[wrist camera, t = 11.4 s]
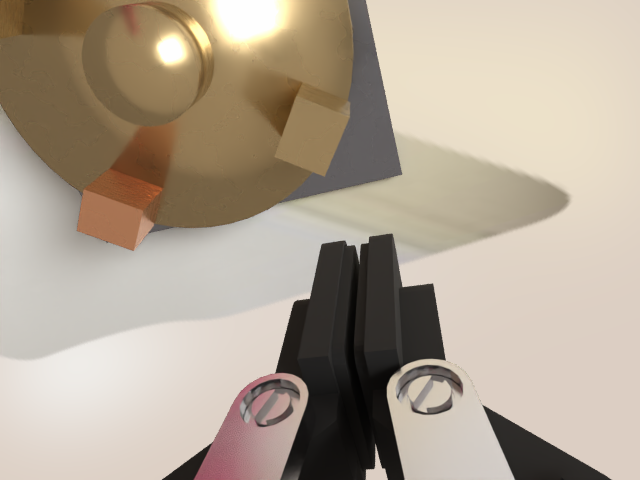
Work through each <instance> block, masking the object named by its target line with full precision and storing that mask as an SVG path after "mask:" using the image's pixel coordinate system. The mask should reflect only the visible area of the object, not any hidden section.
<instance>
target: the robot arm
mask: <svg viewBox="0 0 640 480" xmlns="http://www.w3.org/2000/svg"><path fill="white" fill-rule="evenodd" d="M375 443H376V447H377V451H378V455H379V459H380V463H381V466H382V468H385V470H386V474H387V478H388V480H611V479H609V478H608V477H607V476H605V475H604V474H602V473H600V472H598V471H597V470H595V469H593V468H591V467H590V466H588V465H586V464H585V463H583V462H581V461H579V460H578V459H576V458H574V457H572V456H571V455H569V454H567V453H565V452H563V451H562V450H560V449H558V448H557V447H555V446H553V445H551V444H550V443H548V442H546V441H544V440H543V439H541V438H539V437H537V436H536V435H534V434H532V433H531V432H529V431H527V430H525V429H523V428H522V427H520V426H518V425H517V424H515V423H513V422H511V421H510V420H508V419H506V418H504V417H503V416H501V415H499V414H497V413H496V412H493V411H492V410H490V409H489V408H487V407H485V406H483V405H482V404H481V401H480V399H479V397H478V395H477V392H476V390H475V388H474V385H473V383H472V381H471V379H470V378H469V376H468V375H467V373H466V372H465V371H464V370H462V369H461V368H460V367H459V366H457V365H456V364H453V363H450V362H448V361H446V359H445V354H444V347H443V341H442V335H441V329H440V323H439V317H438V311H437V305H436V298H435V293H434V286H433V284H426V285H417V286H409V287H402V282H401V277H400V271H399V265H398V260H397V254H396V249H395V243H394V238H393V234H386V235H379V236H372V237H369V243H366V244H361V251H360V265H359V260H358V256H357V251H356V248H355V245H352V246H347V244H346V242H345V241H338V242H331V243H325V244H322V245H321V249H320V254H319V259H318V264H317V268H316V273H315V278H314V282H313V287H312V292H311V296H310V299H306V300H297V301H295V302H294V304H293V308H292V311H291V315H290V319H289V323H288V326H287V331H286V334H285V338H284V342H283V346H282V350H281V353H280V357H279V361H278V365H277V369H276V373H275V374H270V375H267V376H264V377H261V378H259V379H257V380H255V381H253V382H252V383H250V384H249V385H247V386H246V387H245V388H244V389H243V390H242V391H241V392H240V393H239V395H238V396H237V397H236V399H235V400H234V402H233V404H232V406H231V408H230V410H229V412H228V414H227V416H226V418H225V420H224V422H223V424H222V426H221V428H220V430H219V432H218V434H217V435H216V437H215V439H214V441H213V442H212V443H211V444H210V445H209V446H207V447H206V448H204V449H203V450H202V451H200V452H199V453H198V454H196V455H195V456H194V457H192V458H191V459H189V460H188V461H187V462H185V463H184V464H183V465H181V466H180V467H179V468H177V469H176V470H174V471H173V472H172V473H171V474H169V475H168V476H166V477H165V478H164V479H162V480H365V479H366V469H374V468H375Z"/></svg>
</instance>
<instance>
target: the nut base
mask: <svg viewBox="0 0 640 480" xmlns="http://www.w3.org/2000/svg"><path fill="white" fill-rule="evenodd" d="M348 5H349V11H350V16H351V22H352V34H353V67H352V81H351V87H350V92H349V97H348V101H349V102H350V118H349V120H348V123H347V125H346V127H345V130H344V132H343V134H342V137H341V139H340V142H339V144H338V146H337V149H336V151H335V153H334V156H333V158H332V160H331V163H330V165H329V168H328V170H327V172H326V175H325V177H324V176H322V175H319V174H316V173H314V172H313V173H312V174H311V175H310V176H309V177H308V178H307V179H306V180H305V182H304V183H303V184H302V185H301V186H299V187H298V188H297V189H296V190H295V191H294V192H292V193H291V194H290V195H289V196H288V197H286V198H285V199H284V200H282V201H280V202H279V203H281V202H285V201H290V200H294V199H298V198H303V197H307V196H311V195H316V194H320V193H324V192H329V191H333V190H337V189H342V188H346V187H350V186H355V185H359V184H363V183H368V182H372V181H377V180H381V179H385V178H390V177H394V176H398V175H402V172H401V167H400V162H399V157H398V153H397V148H396V143H395V138H394V133H393V129H392V124H391V119H390V114H389V110H388V105H387V100H386V95H385V90H384V86H383V81H382V76H381V71H380V67H379V62H378V58H377V52H376V48H375V43H374V38H373V33H372V28H371V24H370V19H369V14H368V9H367V4H366V0H348ZM79 192H80V191H79ZM80 194H81V196H83V193H82V192H80ZM168 228H173V227H170V226H164V225H159V224H154V226H153V227H152V229H151V230H150V231H149V232H148V233H151V232H155V231H160V230H164V229H168ZM106 242H107V241H106ZM107 243H108V242H107Z"/></svg>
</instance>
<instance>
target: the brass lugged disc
mask: <svg viewBox="0 0 640 480" xmlns="http://www.w3.org/2000/svg"><path fill="white" fill-rule="evenodd" d="M352 67H353V34H352V22H351V16H350V11H349V5H348V0H0V103H1V105H2V107H3V109H4V111H5V112H6V114H7V115H8V117H9V118H10V120H11V122H12V123H13V125H14V126H15V128H16V129H17V131H18V132H19V133H20V135H21V136H22V137H23V138H24V140H25V141H26V142H27V143H28V145H29V146H30V147H31V148H32V150H33V151H34V152H35V153H36V154H37V155H38V156H39V157H40V158H41V159H42V160H43V161H44V162H45V163H46V164H47V165H48V166H49V167H50V168H51V169H52V170H53V171H54V172H56V173H57V174H58V175H59V176H60V177H61V178H63V179H64V180H65V181H66V182H67V183H69V184H70V185H71V186H73V187H74V188H76V189H77V190H79V191H80V192H82V193H83V196H82V202H81V208H80V214H79V220H78V226H77V231H79V232H82V233H84V234H87V235H90V236H93V237H96V238H99V239H101V240H104V241H107V242H110V243H113V244H116V245H118V246H121V247H124V248H127V249H130V250H133V251H134V250H135V249H136V248H137V246H138V245H139V244H140V242H141V241H142V240H143V239H144V237H145V236H146V235H147V234H148V232H149V231H150V230H151V229H152V227H153V226H154V224H159V225H164V226H170V227H184V228H199V227H213V226H219V225H225V224H231V223H234V222H237V221H240V220H244V219H247V218H250V217H252V216H254V215H257V214H259V213H261V212H263V211H265V210H268V209H269V208H271V207H273V206H274V205H276V204H277V203H279V202H280V201H282V200H284V199H285V198H286V197H288V196H289V195H290V194H291V193H292V192H294V191H295V190H296V189H297V188H298V187H299V186H301V185H302V184H303V183H304V182H305V180H306V179H307V178H308V177H309V176H310V175H311V174H312V173H313V172H314V173H316V174H319V175H322V176H324V177H325V175H326V172H327V170H328V168H329V165H330V163H331V160H332V158H333V156H334V153H335V151H336V149H337V146H338V144H339V142H340V139H341V137H342V134H343V132H344V130H345V127H346V125H347V123H348V120H349V118H350V102H349V101H348V97H349V92H350V87H351V81H352Z"/></svg>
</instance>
